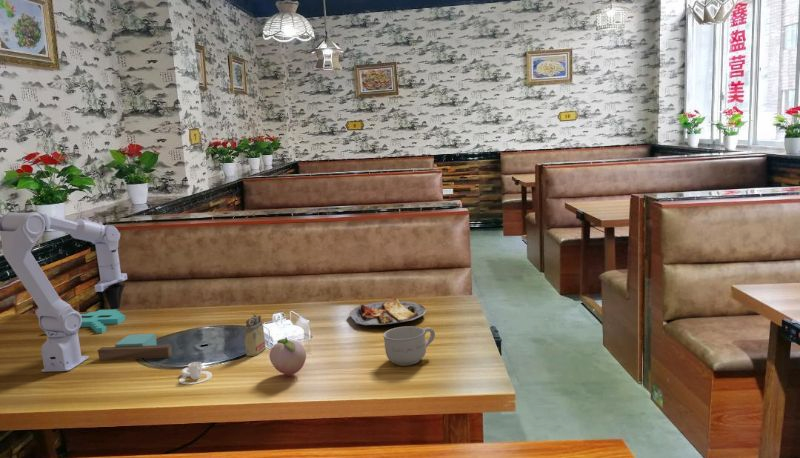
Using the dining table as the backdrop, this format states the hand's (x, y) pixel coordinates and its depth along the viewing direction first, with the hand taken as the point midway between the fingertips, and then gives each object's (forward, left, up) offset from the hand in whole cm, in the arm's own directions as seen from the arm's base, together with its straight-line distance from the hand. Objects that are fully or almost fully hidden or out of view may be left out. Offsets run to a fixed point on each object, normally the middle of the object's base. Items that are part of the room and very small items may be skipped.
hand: (115, 308), depth 179 cm
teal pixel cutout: (+19, +20, -11) cm, 30 cm away
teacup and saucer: (-27, -36, -11) cm, 46 cm away
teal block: (-9, -10, -11) cm, 17 cm away
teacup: (-23, -90, -11) cm, 94 cm away
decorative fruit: (-30, -60, -11) cm, 68 cm away
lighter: (-13, -46, -11) cm, 49 cm away
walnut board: (-14, -12, -10) cm, 21 cm away
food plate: (+13, -81, -11) cm, 83 cm away
